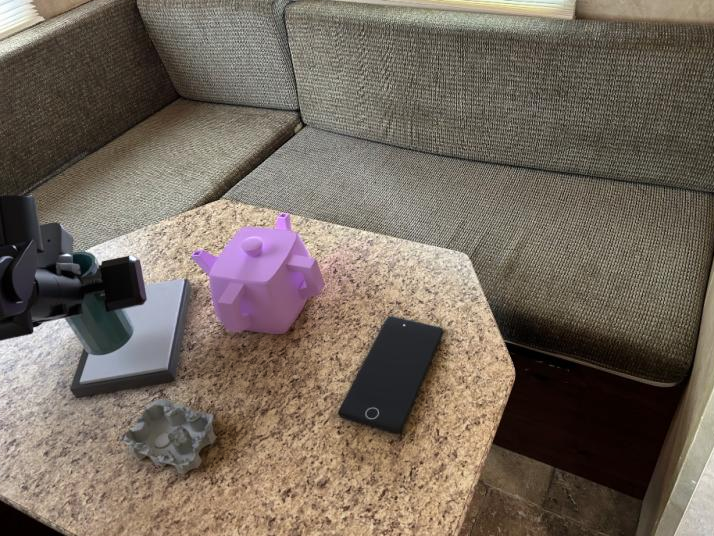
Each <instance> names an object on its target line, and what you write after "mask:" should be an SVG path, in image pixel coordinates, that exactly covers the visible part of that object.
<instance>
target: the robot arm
mask: <svg viewBox="0 0 714 536" xmlns="http://www.w3.org/2000/svg"><path fill="white" fill-rule="evenodd" d="M74 241H75V239H74V236H73V234H71V232H70V231H68V230H67V229H66V228H65V227H64V226H63V225H62V224H61V223H59V222H57V221H56V222H48V223H44V224H40V218H39V213H38V206H37V200H36V196H34V195H31V194H23V195H17V194H16V195H13V194H12V195H0V342H1V341H6V340H12V339H14V338H21V337H25V336H29V335H32V334H34V332H35V331H34V328H38V327H40V326H41V325H42V324H43V323H47V322H52V321H58V320H62V319H64V318H67V317H72V316H77V315H82V314H83V311H82V303H83V301H84V295H88V294H93V293H98V292H100V296H104V302H105V308H106V312H110V311H114V310H120V309H126V308H130V307H135V306H140V305H143V304H144V303H145V302H146V300H147V297H146V291H145V286H144V285H145V281H144V274H143V269H142V263H141V260H140V258H138V257H136V256H134V255H126V256H120V257H116V258H110V259H106V260H102V261H101V262H100V263H101V264H100V265H99V268H98V269H97V271H96V273H95V274H93V275H88V276H83V277H78V278H77V276H78V275H81V273H80V267H79V265H77V264H73V253H74ZM99 279H101V280H99ZM96 281H97V282H98V283H95V282H96ZM89 282H90V283H92V282H94V283H95V284H91V285H86V283H87V284H89ZM83 284H84V285H86V286H83Z"/></svg>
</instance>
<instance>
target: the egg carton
mask: <svg viewBox="0 0 714 536" xmlns="http://www.w3.org/2000/svg"><path fill="white" fill-rule="evenodd" d="M213 419H214V415H213V414H211V413H207V412H201V411H200V410H198V409H194V408H193V407H191V406H186V405H183V404H181V403H177V402H173V401H171V400H168V399H166V398H158V399H156V400H153V401H151V402H150V403H149V404H148V406H146V407H144V411H143V412H142V414H141V415H140V416H138V417H137V418H136V423H135V425H134V426H133V428H132V429H130V428H127V429H125V430H124V432H123V433H122V435H121V436H117V437H116V441H117V442H118V441H119V442H120V443H124V444H126V445H128V452H129V453H128V454H130V455H131V456H132V457H133V458H134V459H136V461H142V460H144V459H145V458H146V457H148V458H150V460H152V462H153V464H154V465H155V466H157V467H159V466H160V467H163V468H164V467H166V465H171V466H174V467H175V468H176V471H177V472H178V473H180V474H181V475H185V474H187V473H188V472H189V471H192V470H193V469H194V470H195V469H198V468H199V467H200V465H201V464H202V463H203V460H202V458H201V456H200V452H201V451H202V449H203V448H205V447H206V446H209V445H213V444H214V442H215V441H216V439H217V435H216V434H215V432H214V426H213V424H212V422H213Z"/></svg>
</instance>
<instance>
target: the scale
mask: <svg viewBox="0 0 714 536" xmlns="http://www.w3.org/2000/svg"><path fill="white" fill-rule="evenodd" d="M144 286H145V291H146V297H147V300H146V302H145V303H144V304H143V305H140V306H135V307H130V308H126V309H125V311H126V313H127V314H128V316H129V318H130V320H131V322H132V324H133V327H134V331H133V335H132V337H131V338H130V340H129V341H128V342H127V343H126V344H125V345H124V346H123V347H121V348H120V349H118V350H116V351H114V352H112V353H109V354H106V355H100V356H97V355H91V354H89V353H88V352H87V351H86V350H85V349H84V348H83V349H82V351H81V355H80V357H79V361H78V364H77V366H76V370H75V372H74V375H73V378H72V382H71V384H70V387H69V391H70V393H72V395H73V396H74V398H83V397H89V396H94V395H95V396H96V395H100V394H106V393H107V394H108V393H111V392H118V391H123V390H129V389H130V390H131V389H136V388H142V387H147V386H154V385H160V384H165V383H170V382H171V383H172V382H175V381H176V377H177V373H178V372H177V371H178V366H179V360H180V354H181V350H182V345H183V344H182V343H183V337H184V333H185V326H186V321H187V315H188V309H189V305H190V298H191V293H192V284H191V282H190V280H189V278H177V279H172V280H165V281H159V282H154V283H146V284H144Z"/></svg>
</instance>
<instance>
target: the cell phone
mask: <svg viewBox="0 0 714 536" xmlns="http://www.w3.org/2000/svg"><path fill="white" fill-rule="evenodd" d="M443 335H444V329H443V328H442V327H440V326H436V325H432V324H429V323H424V322H419V321H415V320H410V319H405V318H401V317H396V316H388V317H386V319H385V321H384V323H383V324H382V326H381V328H380V330H379V333H378V334H377V336H376V338H375V340H374V341H373V344H372V346H371V347H370V350H369V351H368V353H367V355H366V357H365V359H364V361H363V363H362V364H361V367H360V369H359V370H358V373H357V374H356V376H355V378H354V380H353V382H352V383H351V386H350V388H349V390H348V391H347V393H346V395H345V396H344V399H343V401H342V403H341V404H340V407H339V408H338V411H337V413H338V416H339V418H341V419H343V420H347V421H350V422H354V423H357V424H360V425H364V426H367V427H371V428H374V429H378V430H381V431H384V432H387V433H391V434H395V435H401V434H402V432H403V431H404V428H405V425H406V423H407V421H408V418H409V416H410V414H411V412H412V409H413V407H414V404H415V402H416V399H417V397H418V395H419V392H420V390H421V387H422V385H423V382H424V380H425V378H426V376H427V373H428V371H429V369H430V366H431V363H432V362H433V359H434V356H435V355H436V352H437V350H438V347H439V344H440V342H441V341H442V338H443Z"/></svg>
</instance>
